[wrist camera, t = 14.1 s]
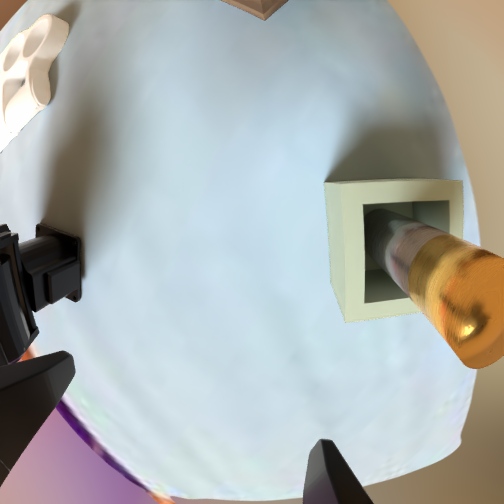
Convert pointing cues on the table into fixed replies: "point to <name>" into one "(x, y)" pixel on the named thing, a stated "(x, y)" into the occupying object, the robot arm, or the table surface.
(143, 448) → the table surface
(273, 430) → the table surface
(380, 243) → the gold and grey cylinder
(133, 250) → the table surface
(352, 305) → the cream square hollow block
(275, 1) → the brown square open box
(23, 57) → the knuckle duster
